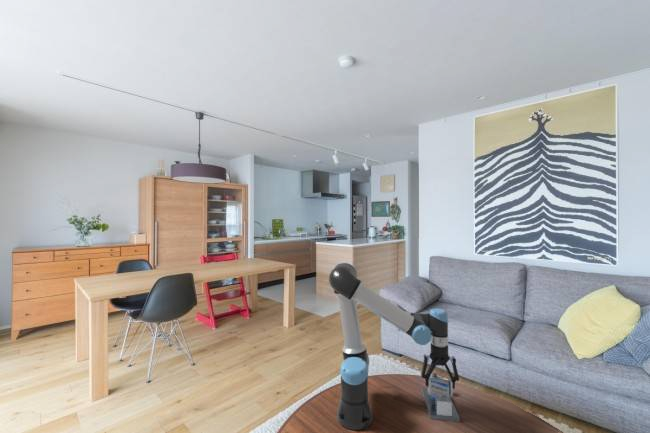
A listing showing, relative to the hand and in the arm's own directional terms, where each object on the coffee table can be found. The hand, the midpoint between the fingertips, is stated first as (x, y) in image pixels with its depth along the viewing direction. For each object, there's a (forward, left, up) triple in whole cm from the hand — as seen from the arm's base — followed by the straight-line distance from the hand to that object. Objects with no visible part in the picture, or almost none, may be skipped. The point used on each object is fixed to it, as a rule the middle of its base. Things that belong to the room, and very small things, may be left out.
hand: (440, 394), depth 131 cm
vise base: (0, +2, -6) cm, 6 cm away
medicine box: (0, 0, -3) cm, 3 cm away
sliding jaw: (0, +11, -4) cm, 12 cm away
